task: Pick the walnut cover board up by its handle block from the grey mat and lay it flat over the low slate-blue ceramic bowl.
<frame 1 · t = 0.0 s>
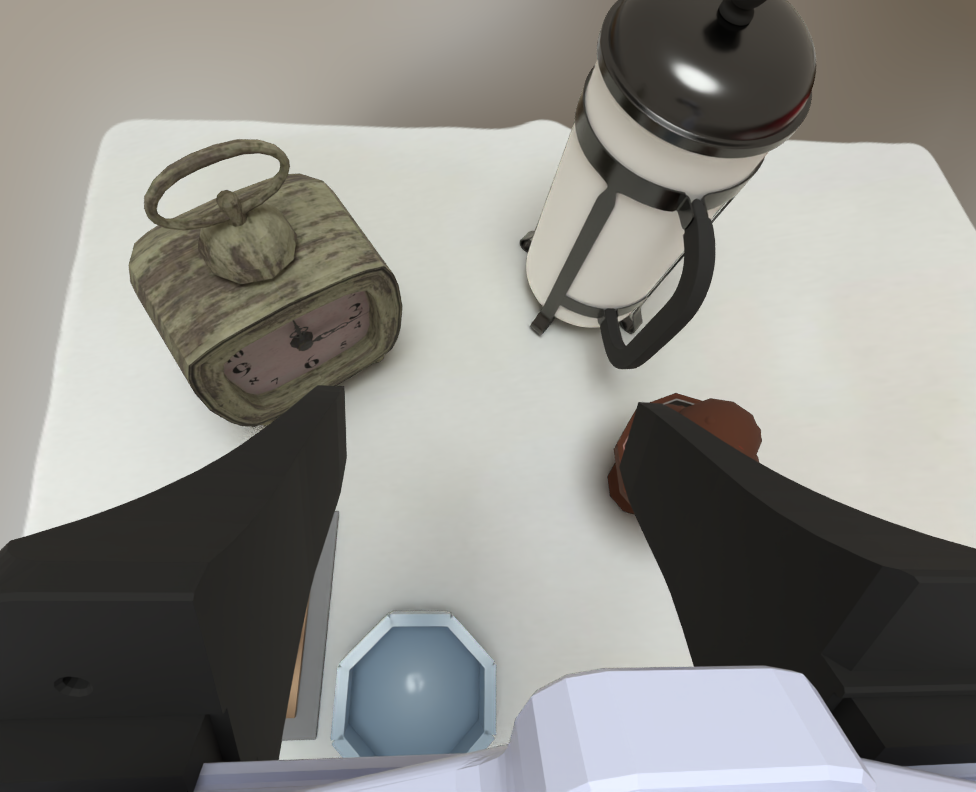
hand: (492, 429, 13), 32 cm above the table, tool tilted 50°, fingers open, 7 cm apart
ice cream bowl: (635, 485, 47), on the table
cover board: (216, 618, 38), resting on mat
mat: (218, 617, 39), on the table
coffee press: (582, 297, 52), on the table
tabletop clock: (308, 363, 46), on the table
bowl: (416, 688, 39), on the table
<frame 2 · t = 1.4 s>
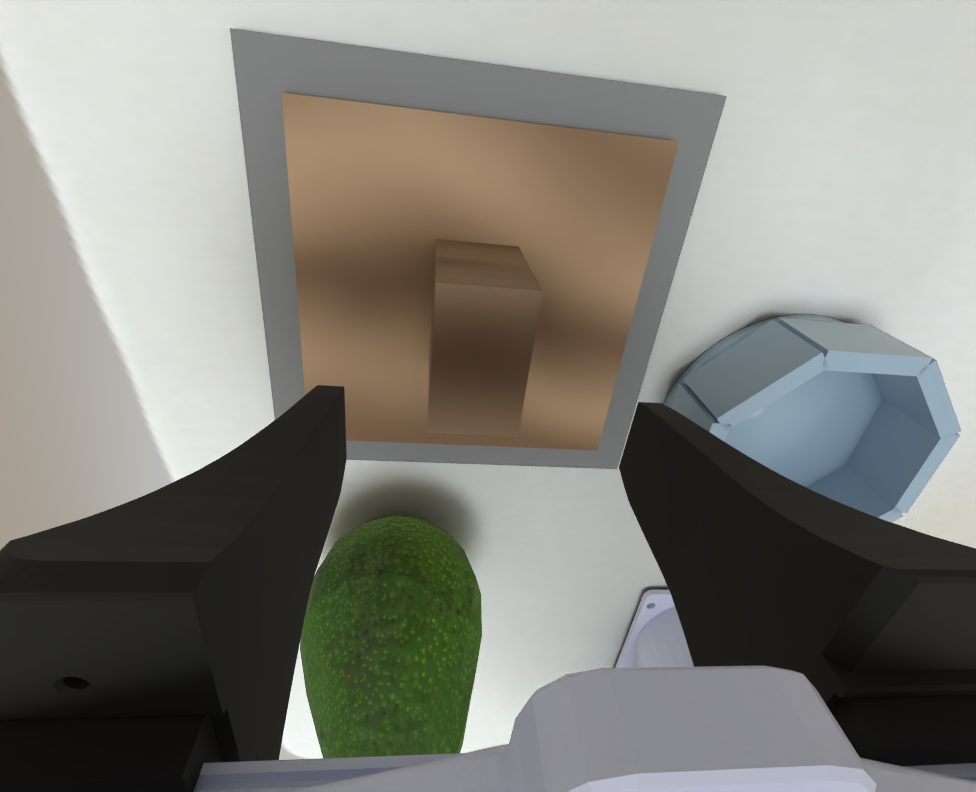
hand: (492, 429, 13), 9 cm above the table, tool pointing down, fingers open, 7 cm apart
cover board: (470, 302, 20), resting on mat
mat: (470, 299, 21), on the table
avocado: (400, 531, 27), on the table
bowl: (765, 420, 25), on the table
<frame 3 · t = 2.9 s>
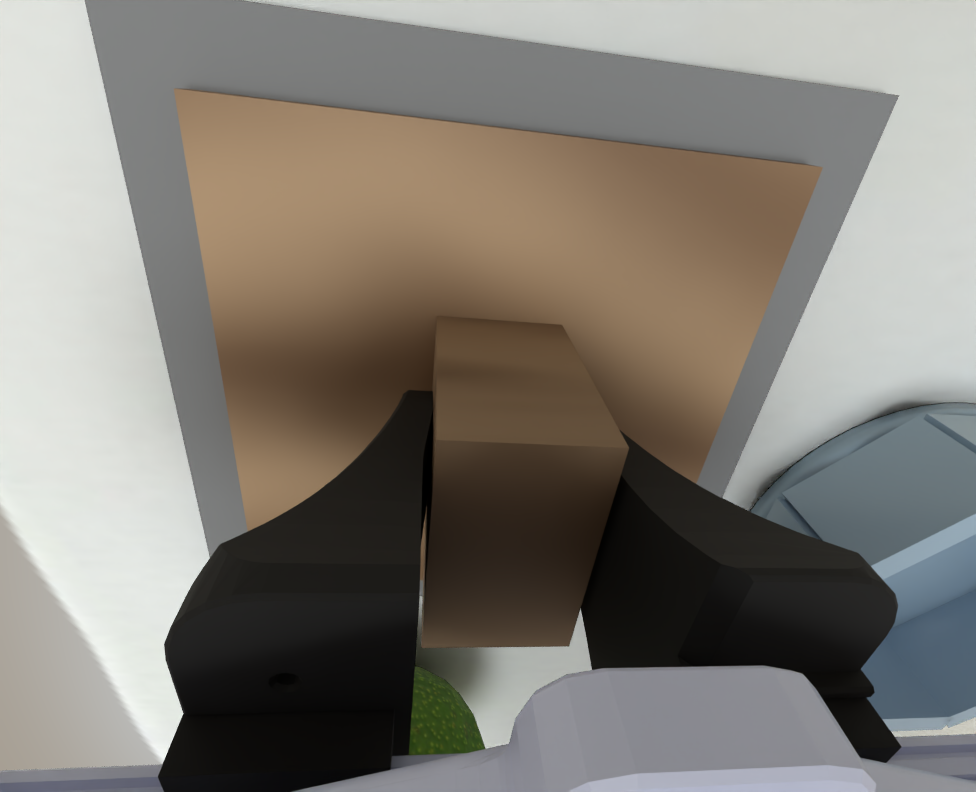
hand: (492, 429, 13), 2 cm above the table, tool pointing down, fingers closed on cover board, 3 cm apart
cover board: (486, 398, 14), resting on mat, touching gripper
mat: (485, 390, 14), on the table
avocado: (389, 667, 21), on the table
bowl: (879, 532, 19), on the table
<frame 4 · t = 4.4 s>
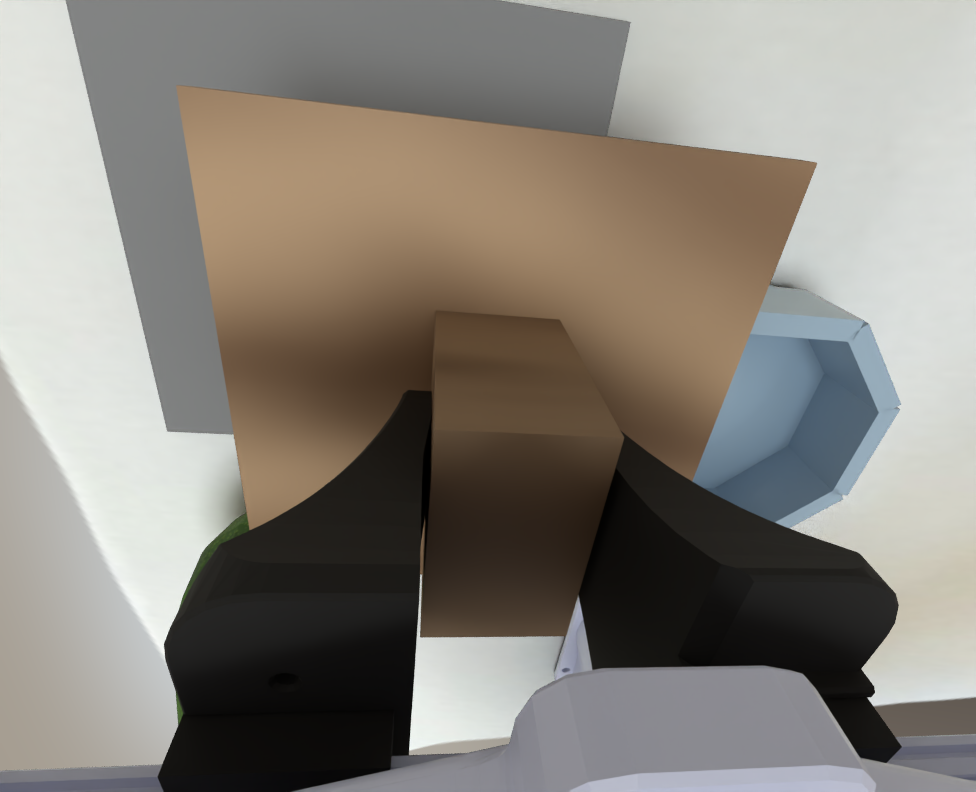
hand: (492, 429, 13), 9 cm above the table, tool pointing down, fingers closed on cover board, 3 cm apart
cover board: (485, 392, 14), point 7 cm above the table, touching gripper
mat: (363, 255, 19), on the table
avocado: (314, 515, 25), on the table
bowl: (701, 396, 23), on the table
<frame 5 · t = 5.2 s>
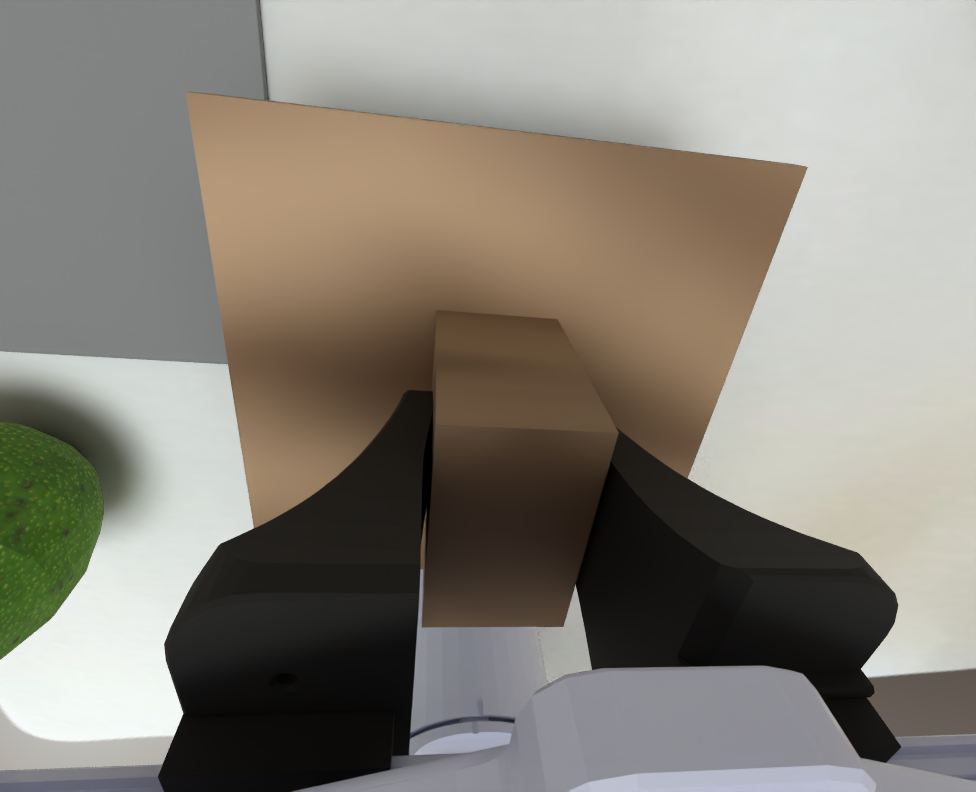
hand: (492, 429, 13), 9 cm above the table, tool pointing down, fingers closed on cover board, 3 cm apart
cover board: (485, 391, 14), point 7 cm above the table, touching gripper
avocado: (48, 452, 22), on the table
when the fingers open (7 cm above the table, at t = 5.8 s): cover board stays where it is, resting on bowl.
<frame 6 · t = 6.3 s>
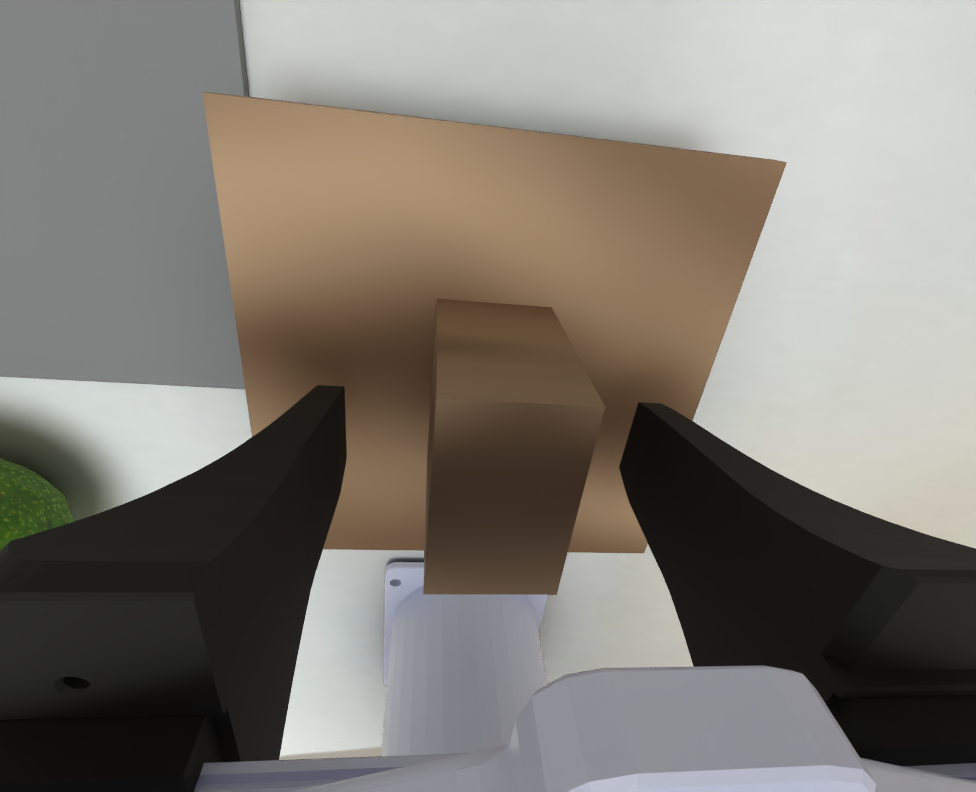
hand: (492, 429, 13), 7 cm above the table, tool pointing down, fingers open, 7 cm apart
cover board: (483, 377, 15), point 4 cm above the table, touching bowl
avocado: (18, 480, 20), on the table
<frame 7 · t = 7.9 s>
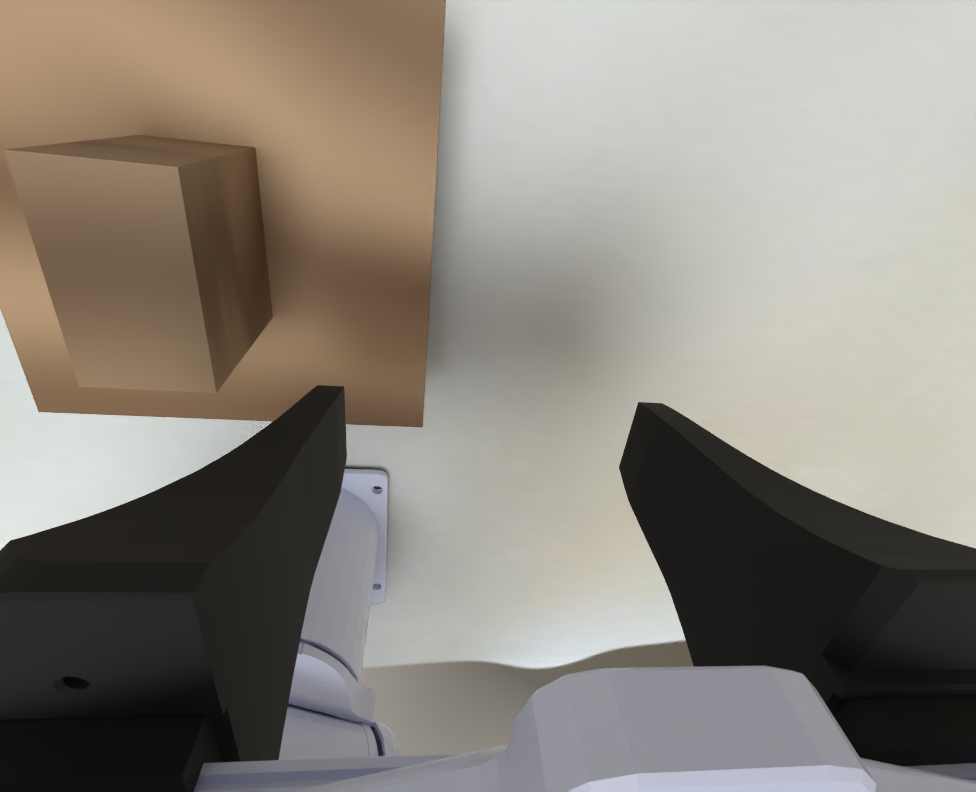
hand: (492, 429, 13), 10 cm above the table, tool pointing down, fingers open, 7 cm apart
cover board: (219, 230, 16), point 4 cm above the table, touching bowl
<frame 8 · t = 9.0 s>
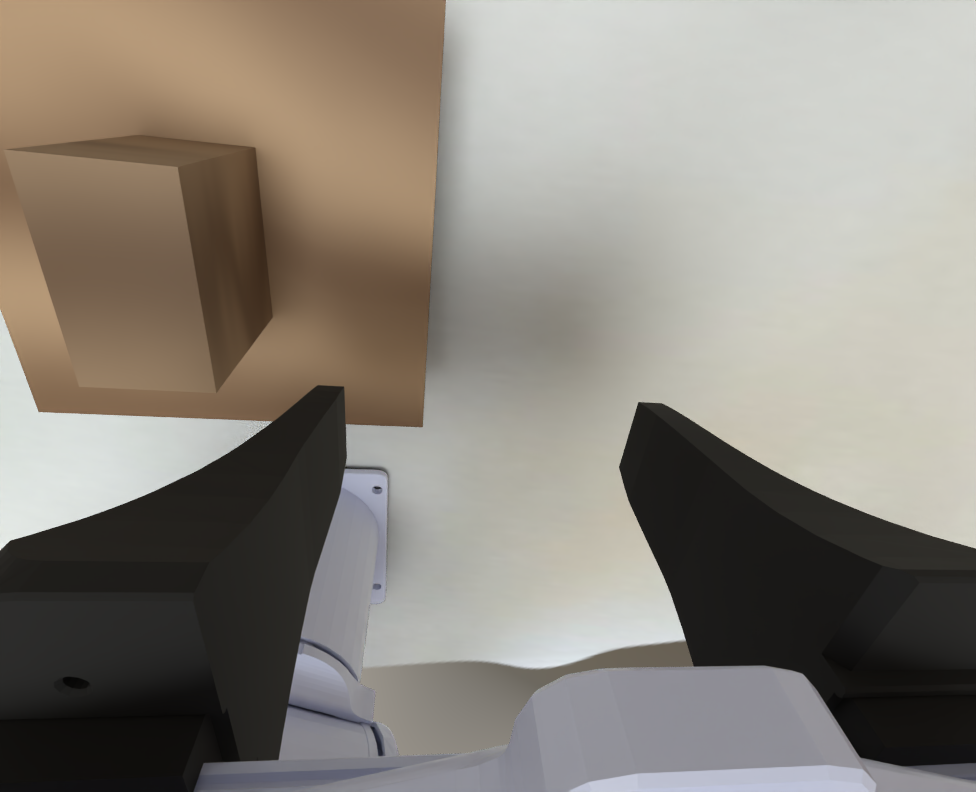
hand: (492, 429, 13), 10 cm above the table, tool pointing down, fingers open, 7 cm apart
cover board: (219, 230, 16), point 4 cm above the table, touching bowl
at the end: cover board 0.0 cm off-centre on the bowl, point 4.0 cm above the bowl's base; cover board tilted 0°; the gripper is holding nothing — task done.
